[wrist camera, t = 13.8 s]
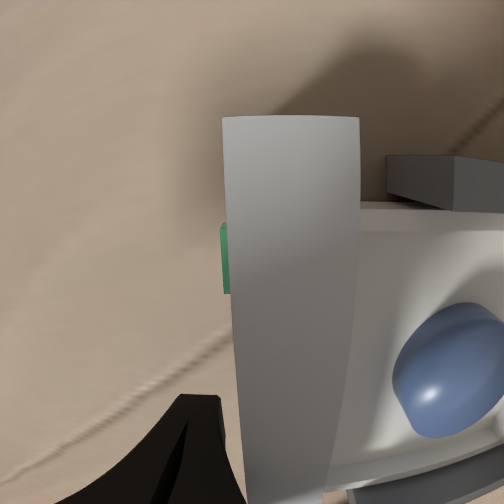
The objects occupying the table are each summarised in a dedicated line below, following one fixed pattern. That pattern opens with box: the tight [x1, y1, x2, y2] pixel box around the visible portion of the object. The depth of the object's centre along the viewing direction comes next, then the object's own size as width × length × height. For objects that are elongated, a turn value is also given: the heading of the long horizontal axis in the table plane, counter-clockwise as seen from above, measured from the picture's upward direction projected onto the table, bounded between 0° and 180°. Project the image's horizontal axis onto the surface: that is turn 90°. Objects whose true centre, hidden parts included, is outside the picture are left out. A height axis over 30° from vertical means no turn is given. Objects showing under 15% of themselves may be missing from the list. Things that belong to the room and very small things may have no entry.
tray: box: [220, 115, 504, 504], centre depth 9 cm, size 16×14×5 cm
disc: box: [392, 302, 504, 438], centre depth 10 cm, size 5×5×2 cm
